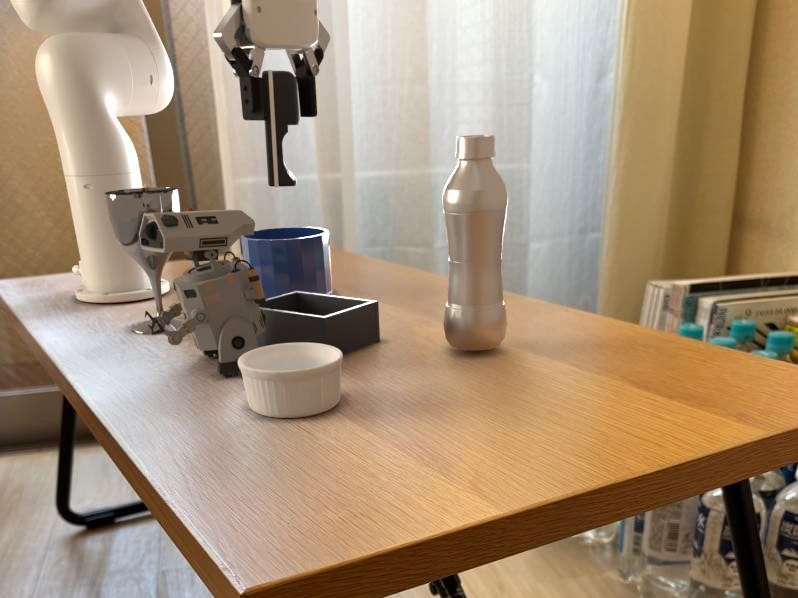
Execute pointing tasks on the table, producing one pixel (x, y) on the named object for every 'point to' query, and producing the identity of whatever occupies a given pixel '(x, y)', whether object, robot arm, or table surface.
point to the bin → (320, 321)
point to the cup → (290, 259)
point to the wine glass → (126, 226)
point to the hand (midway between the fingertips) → (280, 117)
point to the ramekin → (292, 379)
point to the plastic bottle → (475, 247)
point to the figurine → (209, 283)
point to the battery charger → (280, 123)
